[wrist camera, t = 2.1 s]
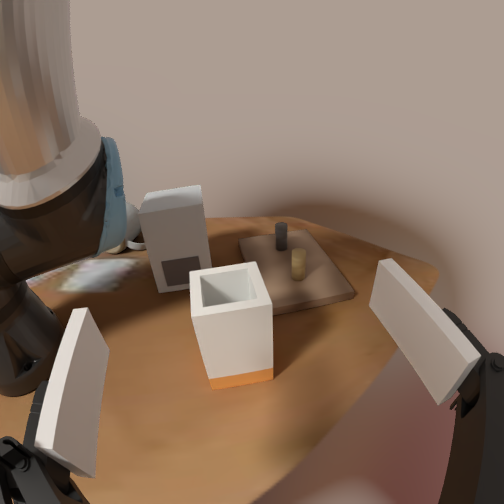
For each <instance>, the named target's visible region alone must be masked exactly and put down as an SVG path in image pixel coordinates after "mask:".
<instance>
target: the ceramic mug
mask: <svg viewBox="0 0 504 504" xmlns="http://www.w3.org/2000/svg"><path fill="white" fill-rule="evenodd" d="M126 212H127V230H126V235H125V238H124V240H123V242H122V243H121V244H120V245H119V246H117V247H115V248H113V249H110V250H108V251H105V252H107V253H111V254H117V253H120V252H121V251H123V250H124V249H125V248H126V247H129V248H131V249H135V250H144V249H146V245H145V243H135V242H132V241H133V240H134V239H135V238H136V237H137V236H138V234H139V233H140V232H142V229H141V225H140V221H139V217H138V213H139V210H138V209H137V208H136V207H135V206H134V205H132V204H130V203H127V202H126Z"/></svg>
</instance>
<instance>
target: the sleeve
mask: <svg viewBox="0 0 504 504" xmlns="http://www.w3.org/2000/svg"><path fill="white" fill-rule="evenodd" d="M189 274H190V300H191V318H192V321H193V325H194V329H195V333H196V336H197V340H198V344H199V347H200V351H201V354H202V358H203V361H204V364H205V368H206V371H207V375H208V378H209V381H210V384H211V387H212V390H217V389H224V388H230V387H236V386H242V385H247V384H253V383H258V382H263V381H268V380H273V316H272V302H271V299H270V297H269V294H268V292H267V289H266V287H265V284H264V281H263V279H262V276H261V274H260V271H259V269H258V266H257V264H256V261H255V262H248V263H242V264H235V265H229V266H223V267H216V268H209V269H203V270H196V271H190V272H189Z"/></svg>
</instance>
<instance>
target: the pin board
mask: <svg viewBox="0 0 504 504" xmlns="http://www.w3.org/2000/svg"><path fill="white" fill-rule="evenodd" d="M238 240H239V247H240V250H241V253H242V256H243V259H244V262H245V263H248V262H255V261H256V264H257V266H258V269H259V271H260V274H261V276H262V279H263V281H264V284H265V287H266V289H267V292H268V294H269V297H270V299H271V302H272V316H273V315H279V314H284V313H289V312H294V311H299V310H304V309H308V308H313V307H318V306H322V305H327V304H331V303H336V302H340V301H344V300H348V299H353V297H354V292H355V291H354V290H353V288H352V287H351V286H350V284H349V283H348V282H347V280H346V279H345V278H344V276H343V275H342V274H341V273H340V271H339V270H338V269H337V267H336V266H335V265H334V263H333V262H332V261H331V260H330V258H329V257H328V256H327V254H326V253H325V252H324V251H323V249H322V248H321V247H320V246H319V244H318V243H317V242H316V241H315V239H314V238H313V237H312V236H311V234H310V233H309V232H308V231H307V229H305V230H298V231H290V232H287V224H286V223H283V222H280V223H276V224H275V234H269V235H262V236H255V237H248V238H241V239H238Z"/></svg>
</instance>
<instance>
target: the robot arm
mask: <svg viewBox="0 0 504 504" xmlns="http://www.w3.org/2000/svg"><path fill="white" fill-rule="evenodd" d="M126 230H127V212H126V201H125V194H124V191H123V175H122V168H121V162H120V157H119V152H118V149H117V145H116V143H115V141H114V139H112V138H109V137H106V138H105V137H101V136H100V132H99V130H98V128H97V126H96V125H95V124H94V123H93V122H92V121H91V120H88V119H87V118H84V117H81V116H80V114H79V108H78V101H77V95H76V88H75V81H74V72H73V62H72V51H71V36H70V0H0V394H1V395H4V396H10V397H11V396H20V395H23V394H26V393H29V392H31V391H32V390H34V389H36V388H37V387H38V388H37V389H36V391H35V395H34V398H33V404H32V406H31V410H30V411H31V413H30V414H29V418H28V422H27V427H26V431H25V436H24V441H23V445H22V444H20V443H19V442H18V441H17V440H15V439H14V438H12V437H9V436H5V437H3V438H1V439H0V504H13V503H12V499H13V501H14V504H90V503H89V502H88V501H87V499H86V498H85V497H84V495H83V494H82V493H81V491H80V490H79V488H78V487H77V485H76V484H75V482H74V481H73V480H72V479H71V478H70V471H71V472H72V473H74V474H76V475H77V476H81V477H88V478H95V470H96V452H97V438H98V428H99V418H100V410H101V402H102V394H103V387H104V381H105V375H106V369H107V363H108V357H109V352H110V350H109V348H108V346H107V344H106V342H105V341H104V339H103V337H102V335H101V333H100V331H99V329H98V327H97V325H96V323H95V321H94V319H93V317H92V315H91V313H90V311H89V309H88V307H87V308H78V309H73V311H72V314H71V316H70V319H69V322H68V324H67V327H66V330H65V329H64V327H63V325H62V324H61V322H60V320H59V318H58V317H57V315H56V314H55V313H54V312H53V311H52V310H51V309H50V308H49V307H47V306H45V304H44V303H43V302H42V301H41V299H40V298H39V297H38V296H37V295H36V294H35V293H34V292H33V291H32V290H31V289H30V288H29V286H28V285H27V283H26V281H25V280H27V279H30V278H32V277H35V276H38V275H40V274H43V273H46V272H49V271H52V270H55V269H58V268H61V267H64V266H67V265H70V264H73V263H76V262H79V261H82V260H85V259H88V258H91V257H92V258H94V257H97V256H98V255H100V253H102V252H105V251H108V250H110V249H113V248H115V247H117V246H119V245H120V244H121V243H122V242H123V240H124V238H125V235H126ZM369 307H370V308H371V309H372V311H373V312H374V313H375V315H376V316H377V317H378V319H379V320H380V321H381V323H382V324H383V326H384V327H385V328H386V330H387V331H388V333H389V334H390V335H391V337H392V338H393V340H394V341H395V342H396V344H397V345H398V347H399V348H400V350H401V351H402V352H403V354H404V355H405V357H406V358H407V360H408V361H409V362H410V364H411V365H412V367H413V368H414V370H415V371H416V373H417V374H418V376H419V377H420V379H421V380H422V382H423V383H424V385H425V386H426V388H427V389H428V391H429V393H430V394H431V396H432V397H433V399H434V400H435V402H436V404H437V405H440V404H442V403H443V402H445V401H447V400H448V399H450V398H451V397H452V396H453V394H454V393H455V392H456V391H457V390H458V392H459V393H460V395H459V396H458V397H457V398H456V399H455V401H454V402H453V403H452V404H451V406H450V409H451V410H452V409H453V407H454V406H455V405H456V404H457V407H456V408H455V410H456V419H455V427H454V434H453V440H452V446H451V452H450V457H449V463H448V467H447V472H446V476H445V481H444V485H443V488H442V492H441V496H440V499H439V503H438V504H504V356H502V355H501V354H498V353H489V352H487V351H486V349H485V348H484V347H483V346H482V344H481V343H480V342H479V341H478V340H477V338H476V337H475V336H474V335H473V334H472V333H471V332H470V330H468V329H467V327H466V326H465V325H464V324H462V321H461V320H460V319H459V318H458V317H457V316H456V315H455V314H454V313H452V312H451V311H449V310H448V309H446V308H444V309H441V308H440V307H439V306H438V305H437V304H436V303H435V302H434V301H433V300H432V299H431V298H430V297H429V295H428V294H427V293H426V292H425V291H424V290H423V289H422V288H421V287H420V286H419V285H418V284H417V283H416V282H415V281H414V280H413V279H412V278H411V277H410V276H409V275H408V274H407V273H406V272H405V271H404V270H403V269H402V268H401V267H400V266H399V265H398V264H397V263H396V262H395V261H394V260H393V259H392V258H390V259H385V260H380V261H379V262H378V267H377V272H376V277H375V281H374V286H373V290H372V295H371V299H370V303H369ZM49 377H50V379H49V381H46V380H47V379H48V378H49ZM11 498H12V499H11Z"/></svg>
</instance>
